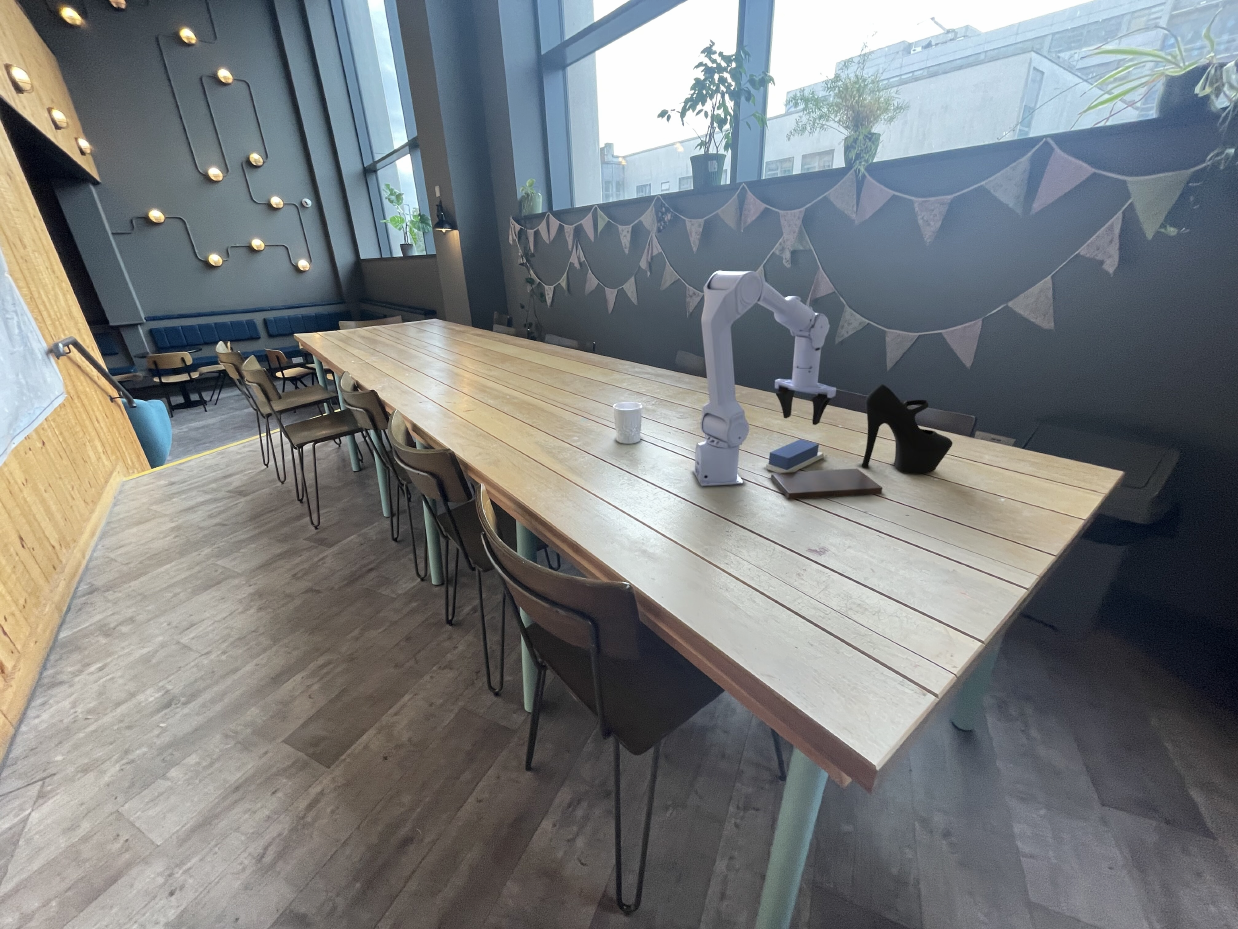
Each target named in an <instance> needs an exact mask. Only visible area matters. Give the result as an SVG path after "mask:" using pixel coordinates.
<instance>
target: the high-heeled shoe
mask: <svg viewBox="0 0 1238 929" xmlns="http://www.w3.org/2000/svg"><path fill="white" fill-rule="evenodd" d="M910 406H917V407H915V408H908V407H910ZM928 407H929V400H926V399H914V400H908V399H907V400H905V401H901V399H899V398H898V396H897V395H896V394H895V393H894V392H893V391H892V390H891V389H890V388H889V387H888V386H887V385H885V384H884V383H881V384H880V385H878V386H876V387H875V388H874V389H873V390H872V391H870V392H869V394H868V395H867V397H866V399H865V409H866V418H867V419H866V420H867V436H866V437H867V438H866V447H865V452H864V456H863V460H862V463H861V467H863V468H866V469H867V468H869V466H870V461H871V458H872V454H873V451H874V447H875V444H876V442H877V441H876V440H877V437H878V433H879V430H880V427H881V426H883V425H884V424H886V425H887V426H888V427H889V428H890V430H891V432H892V435H893V437H894V440H895V441H894V442H895V452H894V453H895V456H894V462H893V465H894V467H895V469H896V470H898V471H899V472H901V473H904V474H910V475H927V474H931V473H933V472H935V470H936V469H937V467H938V466H939V465H940V463H941V462H942V460H943V459H944V458H945V457H946V456H947V453H948V452H949V451H950V449H951V448H952V447H953V441H952V439H951V438H949V437H947V436H945V435H942V434H940V433H938V432H936V431H935V430H931V429H925V428H924V429H923V428H920V427H919V425H918V423H917V421H916V415H917V414H919V413H921V412H923V411H924V410H926V409H928Z"/></svg>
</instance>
